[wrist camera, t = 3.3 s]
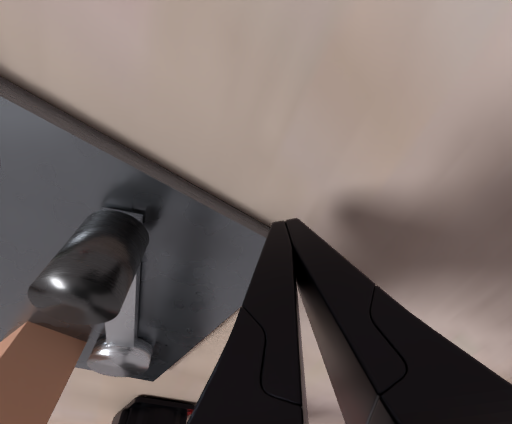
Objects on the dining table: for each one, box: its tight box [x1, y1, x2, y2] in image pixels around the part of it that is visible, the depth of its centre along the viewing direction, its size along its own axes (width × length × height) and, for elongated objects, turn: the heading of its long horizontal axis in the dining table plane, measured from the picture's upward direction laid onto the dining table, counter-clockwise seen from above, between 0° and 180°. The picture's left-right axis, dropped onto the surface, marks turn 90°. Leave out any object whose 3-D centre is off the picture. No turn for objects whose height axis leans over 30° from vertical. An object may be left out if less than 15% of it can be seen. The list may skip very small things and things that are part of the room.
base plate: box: [0, 77, 270, 381], centre depth 13 cm, size 16×18×1 cm
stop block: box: [0, 321, 87, 424], centre depth 13 cm, size 4×4×5 cm
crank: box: [28, 207, 153, 377], centre depth 12 cm, size 14×4×4 cm, turn 163°
